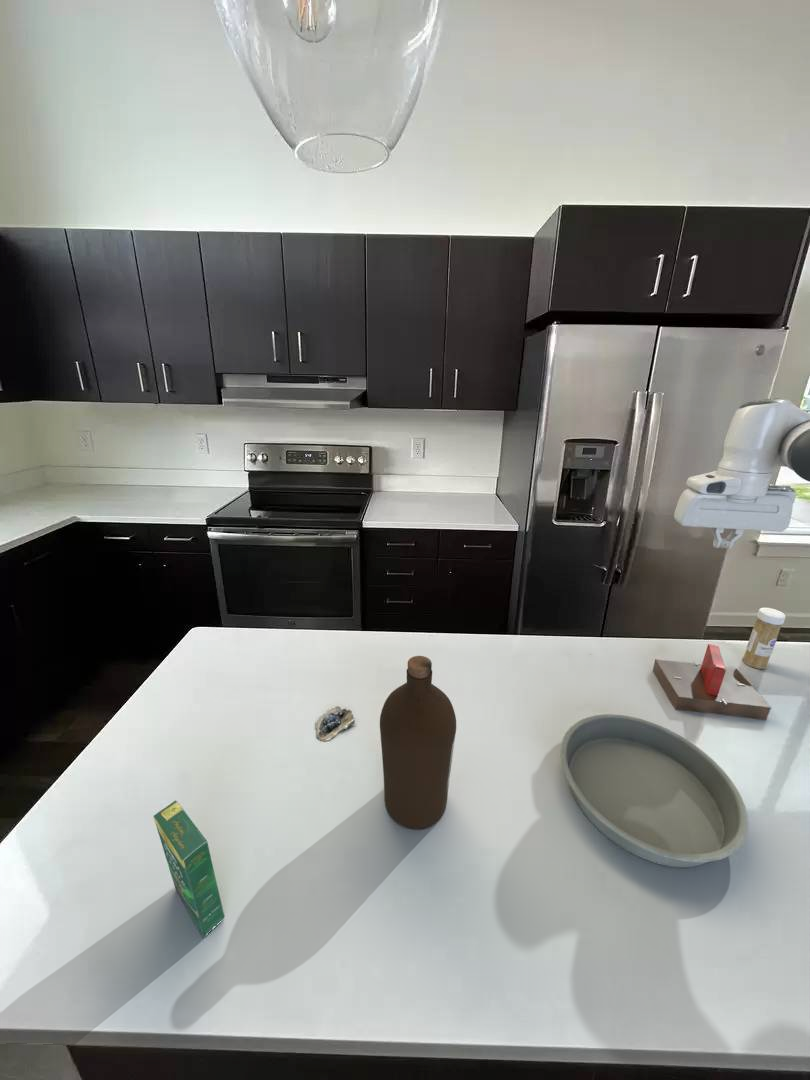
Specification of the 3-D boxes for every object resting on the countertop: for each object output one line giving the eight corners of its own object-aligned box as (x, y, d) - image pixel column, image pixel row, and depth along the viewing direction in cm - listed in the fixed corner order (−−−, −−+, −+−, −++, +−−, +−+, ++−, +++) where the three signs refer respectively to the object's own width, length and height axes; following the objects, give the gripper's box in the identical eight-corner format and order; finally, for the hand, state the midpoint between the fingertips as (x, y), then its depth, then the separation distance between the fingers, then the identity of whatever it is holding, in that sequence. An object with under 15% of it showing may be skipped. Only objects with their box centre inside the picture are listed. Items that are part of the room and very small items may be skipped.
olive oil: (388, 843, 58) (388, 696, 50) (374, 777, 68) (372, 644, 59) (461, 824, 61) (473, 682, 52) (437, 764, 71) (444, 635, 62)
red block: (700, 667, 90) (708, 642, 88) (710, 670, 90) (718, 645, 87) (706, 693, 83) (715, 666, 81) (717, 696, 82) (726, 669, 80)
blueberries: (361, 716, 80) (360, 708, 80) (337, 747, 73) (337, 739, 73) (331, 705, 83) (330, 698, 82) (305, 734, 76) (304, 726, 75)
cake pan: (525, 785, 67) (529, 763, 65) (601, 712, 82) (605, 693, 80) (704, 931, 49) (715, 906, 48) (759, 805, 64) (769, 783, 63)
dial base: (730, 677, 92) (734, 665, 91) (768, 722, 80) (773, 709, 79) (651, 668, 95) (654, 657, 94) (676, 711, 82) (680, 698, 81)
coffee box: (172, 888, 53) (150, 813, 48) (195, 869, 55) (177, 796, 50) (202, 941, 48) (181, 863, 43) (226, 918, 50) (209, 842, 45)
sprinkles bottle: (761, 672, 94) (781, 619, 89) (738, 661, 98) (755, 609, 93) (770, 665, 96) (790, 613, 91) (747, 655, 100) (764, 604, 95)
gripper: (788, 482, 87) (767, 545, 92) (679, 477, 90) (664, 539, 95) (810, 489, 81) (786, 556, 86) (693, 484, 84) (676, 549, 89)
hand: (721, 547), depth 90 cm, fingers closed
